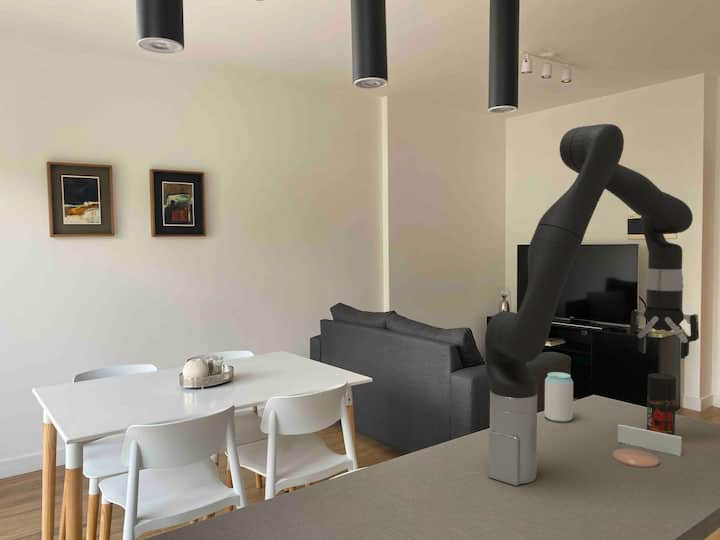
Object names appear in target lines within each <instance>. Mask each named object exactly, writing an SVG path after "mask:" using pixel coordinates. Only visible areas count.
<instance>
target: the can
mask: <svg viewBox="0 0 720 540" xmlns="http://www.w3.org/2000/svg"><path fill="white" fill-rule="evenodd" d="M573 406H574V381H573V378H572V377H571V374H569V373H568V372H567V373H566V372H559V371H552V372H548V373H547V376H546V378H545V379H544V417H545V418H547V420H548V421H552V422H556V423H567V422H569V421H571V420H573V419H574V418H573V417H574V416H573V413H574V410H573V409H574V407H573Z"/></svg>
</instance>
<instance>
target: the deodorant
mask: <svg viewBox="0 0 720 540" xmlns="http://www.w3.org/2000/svg"><path fill="white" fill-rule="evenodd" d="M676 397H677V377H676V376H675V375H672V374H668V373H661V372H660V373H659V372H656V373H655V372H653V373H649V374H648V375H647V398H646V399H647V400H646V401H647V404H646V405H647V406H646V409H647V411H646V430H650V431H655V432H660V433H665V434H670V435H674V436H676V434H675V432H676V400H677V399H676Z"/></svg>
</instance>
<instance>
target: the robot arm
mask: <svg viewBox="0 0 720 540" xmlns="http://www.w3.org/2000/svg"><path fill="white" fill-rule="evenodd" d="M624 145H625V138H624V133H623V132H622V130H621V128H620V127H619V126H617V125H616V124H612V123H601V124H600V123H599V124H594V125H593V124H592V125H586V126H585V125H584V126H578V127H574V128H571V129H569V130H568V131H566V132H565V133H564V134H563V136H562V137H561V139H560V143H559V156H560V158H561V161H562V162H563V164H564V165H565V166H566V167H567V168H569V169H570V170H572V171H574V172H575V173H578V175H577V177H576V178H575V180H574V182H573V183H572V184H571V186H570V187H569V188H568V190H566V191H565V192H564V193H563V194H562V196H560V197H559V198H558V199H557V200H556V201H555V202H554V203H553V204H551V206H550V207H548V209H547V210H546V211H545V213H544V214H542V216H541V218H540V219H539V221H538V223H537V226H536V228H535V231H534V233H533V235H532V237H531V240H530V243H529V246H528V250H527V271H528V274H527V275H528V278H527V279H528V282H527V288H526V291H525V295H524V297H523V299H522V302H521V304H520V306H519V309H518V311H517V312H513V311H505V310H504V311H500V312H497V313H495V314H494V315H493V316H491V318H490V319H489V321H488V323H487V326H486V329H485V336H484V349H485V351H484V353H485V355H484V356H485V370H486V371H485V372H486V376H487V379H488V382H489V433H488V477H489V478H490V479H493V480H497V481H499V482H504V483H506V484H510V485H513V486H519V485H521V484H528V483H531V482H534V481H535V480H536V479H537V449H538V448H537V445H538V444H537V443H538V442H537V440H538V439H537V437H538V436H537V435H538V434H537V433H538V431H537V427H538V381H537V379H536V377H535V376H534V374H532V372H531V371H530V369H529V368H528V366H527V365H528V364H527V363H531V362H532V361H535V360H536V359H537V358H538V357H539V356H540V355H541V354H542V352H543V351H544V348H545V346H546V344H547V341H548V338H549V335H550V332H551V328H552V324H553V320H554V317H555V313H556V311H557V307H558V303H559V301H560V298H561V295H562V292H563V290H564V287H565V284H566V282H567V279H568V276H569V274H570V271H571V268H572V266H573V264H574V262H575V259H576V258H577V255H578V254H579V253H578V252H579V251H580V248H581V245H582V242H583V240H584V237H585V235H586V232H587V229H588V226H589V224H590V221H591V219H592V218H593V215H594V213H595V211H596V208H597V206H598V203H599V201H600V200H601V197H602V195H603V193H604V191H605V190H606V191H608V192H609V193H611V194H612V195H613V196H615V197H616V198H618V200H620V201H621V202H622V203H624V204H625V205H626V206H627V207H628V208H629V209H630V210H631V211H633V212H634V213H635V214H636V215H638V216H640V224H641V225H640V226H641V229H642V232H643V237H644V240H645V243H646V247H647V251H648V259H647V261H648V262H647V263H648V264H647V267H648V269H647V275H646V293H645V295H646V297H645V298H646V299H645V310H644V311H643V310H642V311H641V310H639V309H633V310H632V311H631V313H630V323H629V334H630V335H634V336H635V337H637V350H638V351H639V353H640V354H646V352H647V337H646V336H647V335H648V333H649V332H650V331H651V330H655V331H665V332H672V331H673V332H674V333H675V335H676V336H677V337H678V338H679V340H681V342H680V356H679V357H680V359H683V360H684V359H685V358H686V357H688V356H689V354H690V342H691V343H692V342H696V341H697V340H699V338H700V333H699V332H700V331H699V315H698V314H697V313H693V314H685V313H684V312H683V296H684V294H683V291H684V276H683V248H682V246H681V245H679V244H678V243H673V242H669V241H667V239H666V237H665V235H664V234H679V233H680V234H681V233H683V232H686V231H687V230H689V229H690V228H691V226H692V224H693V221H694V220H693V218H694V216H693V212H692V210H691V208H690V207H689V205H688V204H687V203H686V202H684V201H683V200H682V199H680V198H678V197H676V196H673V195H672V194H669V193H666V192H664V191H662V190H661V189H660V188H659V187H658V186H657V185H656V184H654V183H653V181H652V180H650V179H649V177H647V176H645V175H643V174H642V173H640V172H638V171H635V170H633V169H632V168H628V167H626V166H625V165H621V164H619V163H620V160H621V157H622V155H623V152H624ZM643 318H645V320H646V321H647V324H646V325H645V326H644V327H643V328H642V329H641V330H639V321H640V320H641V319H643ZM684 320H686V323H687V324H688V325H689V326H690V327H689V328H690V335H688V334H687V332H686V331H685V329H684V328H683V327H682V325H681V323H682V322H683V321H684Z"/></svg>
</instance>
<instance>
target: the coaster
mask: <svg viewBox="0 0 720 540" xmlns="http://www.w3.org/2000/svg"><path fill="white" fill-rule="evenodd" d="M612 456H613V459H614V460H615V461H617V460H618V461H617V462H619V463H621V462H622V463H621V464H623V463H624V465H626V464H628V465H627V466H630V465H631V466H630V467H634V466H636V467H635V468H642V467H648V468H647V469H649V468H655V467H658V466H659V465H660V458H659V457H658V456H657V455H655V454H653V453H651V452H649V451H646V450H641V449H638V448H637V449H636V448H625V447H624V448H618V449H616V450H614V451H613V452H612Z"/></svg>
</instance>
